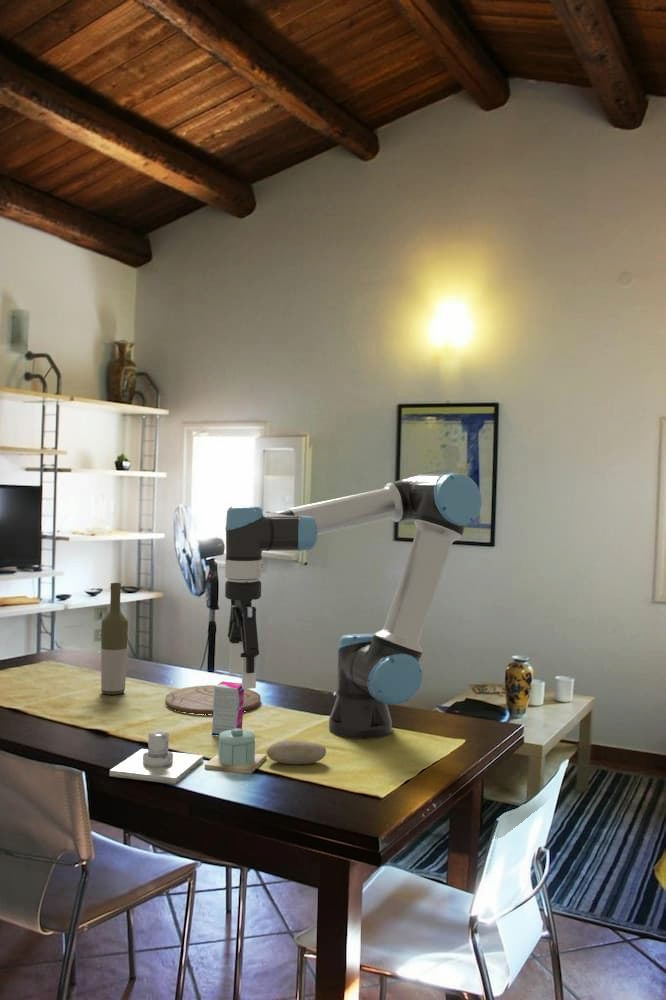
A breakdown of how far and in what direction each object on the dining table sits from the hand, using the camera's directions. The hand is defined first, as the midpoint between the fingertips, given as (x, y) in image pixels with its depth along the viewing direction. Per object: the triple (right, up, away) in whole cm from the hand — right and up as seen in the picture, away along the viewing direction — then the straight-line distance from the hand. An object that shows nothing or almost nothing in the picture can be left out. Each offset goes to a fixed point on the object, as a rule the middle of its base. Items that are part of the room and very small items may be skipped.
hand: (242, 680), depth 177 cm
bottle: (-41, -15, +52) cm, 68 cm away
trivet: (-13, -16, +46) cm, 50 cm away
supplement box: (-6, -17, +19) cm, 26 cm away
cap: (-1, -16, -1) cm, 16 cm away
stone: (+11, -18, 0) cm, 21 cm away
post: (-17, -17, -6) cm, 24 cm away
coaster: (-1, -17, -1) cm, 17 cm away
